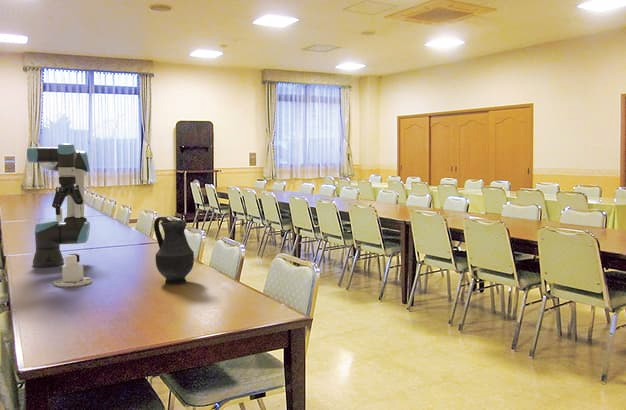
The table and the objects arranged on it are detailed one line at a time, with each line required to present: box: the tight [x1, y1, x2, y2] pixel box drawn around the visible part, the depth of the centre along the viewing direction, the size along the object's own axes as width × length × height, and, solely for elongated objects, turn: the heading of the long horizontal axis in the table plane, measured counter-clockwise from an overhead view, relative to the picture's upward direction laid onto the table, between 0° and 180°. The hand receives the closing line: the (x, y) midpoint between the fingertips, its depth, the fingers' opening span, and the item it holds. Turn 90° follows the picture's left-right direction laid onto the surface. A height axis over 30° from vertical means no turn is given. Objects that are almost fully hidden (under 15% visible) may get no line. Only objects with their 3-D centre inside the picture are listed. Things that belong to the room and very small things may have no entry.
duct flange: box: [53, 276, 93, 288], centre depth 265 cm, size 16×16×2 cm
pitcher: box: [153, 216, 195, 285], centre depth 267 cm, size 17×21×30 cm
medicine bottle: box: [61, 253, 84, 282], centre depth 264 cm, size 7×7×12 cm
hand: (68, 219), depth 283 cm, fingers open, 13 cm apart
